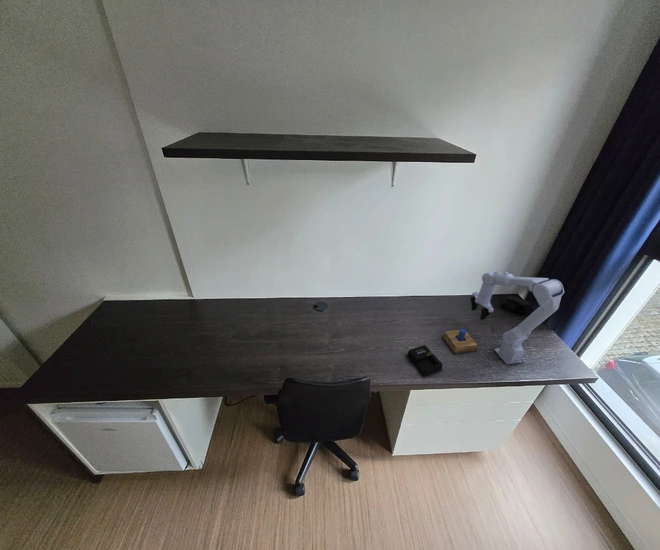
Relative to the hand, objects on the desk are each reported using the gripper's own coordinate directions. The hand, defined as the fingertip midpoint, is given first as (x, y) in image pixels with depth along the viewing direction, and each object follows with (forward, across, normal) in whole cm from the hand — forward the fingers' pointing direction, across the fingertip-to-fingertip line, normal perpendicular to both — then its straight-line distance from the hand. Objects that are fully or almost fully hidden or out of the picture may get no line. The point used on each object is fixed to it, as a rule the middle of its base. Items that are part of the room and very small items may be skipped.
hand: (477, 314), depth 151 cm
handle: (+9, +10, -14) cm, 19 cm away
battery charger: (+10, +18, -37) cm, 42 cm away
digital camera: (+10, -10, +33) cm, 36 cm away
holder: (+9, +10, -14) cm, 19 cm away
